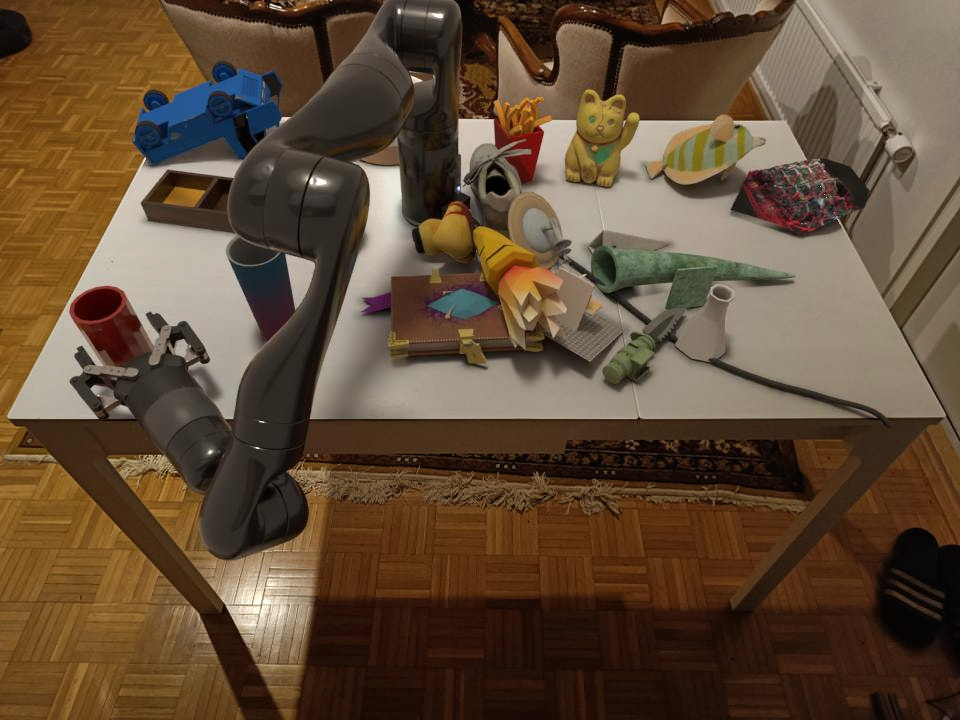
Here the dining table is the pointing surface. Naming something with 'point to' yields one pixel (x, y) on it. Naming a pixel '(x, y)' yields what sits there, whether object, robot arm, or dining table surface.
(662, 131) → the dining table surface
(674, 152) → the decorative fish sculpture
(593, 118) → the figurine
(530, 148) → the french fries
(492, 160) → the shoe
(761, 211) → the fabric swatch
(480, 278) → the book
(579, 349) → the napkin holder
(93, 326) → the tumbler
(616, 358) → the knife
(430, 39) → the robot arm
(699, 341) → the flask
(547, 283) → the torch
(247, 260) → the cup
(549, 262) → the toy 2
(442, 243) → the toy
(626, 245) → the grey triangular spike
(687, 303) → the decorative horn
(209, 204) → the caddy
